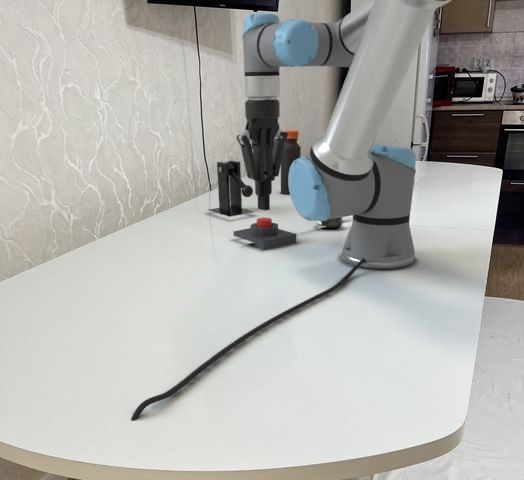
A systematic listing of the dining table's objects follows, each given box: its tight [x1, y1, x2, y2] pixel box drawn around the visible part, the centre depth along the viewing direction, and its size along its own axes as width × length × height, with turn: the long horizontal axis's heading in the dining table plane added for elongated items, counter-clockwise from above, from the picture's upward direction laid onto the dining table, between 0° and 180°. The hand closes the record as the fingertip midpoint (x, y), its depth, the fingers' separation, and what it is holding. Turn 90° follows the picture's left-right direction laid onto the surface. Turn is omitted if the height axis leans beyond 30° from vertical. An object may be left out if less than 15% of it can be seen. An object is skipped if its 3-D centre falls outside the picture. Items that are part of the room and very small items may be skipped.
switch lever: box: [224, 161, 254, 198], centre depth 146 cm, size 13×3×3 cm
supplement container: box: [316, 217, 343, 231], centre depth 136 cm, size 7×7×10 cm
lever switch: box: [208, 159, 255, 218], centre depth 151 cm, size 12×9×15 cm
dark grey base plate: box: [233, 222, 297, 251], centre depth 127 cm, size 12×10×4 cm
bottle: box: [280, 130, 302, 195], centre depth 179 cm, size 7×7×20 cm
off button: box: [256, 217, 273, 227], centre depth 126 cm, size 4×4×2 cm
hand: (263, 209), depth 124 cm, fingers closed
